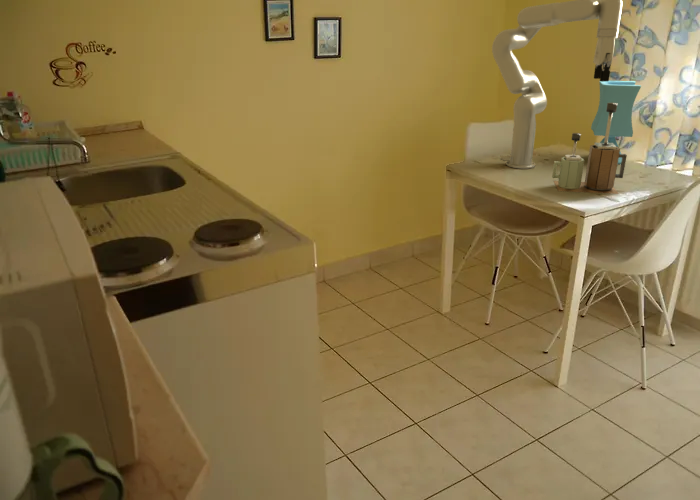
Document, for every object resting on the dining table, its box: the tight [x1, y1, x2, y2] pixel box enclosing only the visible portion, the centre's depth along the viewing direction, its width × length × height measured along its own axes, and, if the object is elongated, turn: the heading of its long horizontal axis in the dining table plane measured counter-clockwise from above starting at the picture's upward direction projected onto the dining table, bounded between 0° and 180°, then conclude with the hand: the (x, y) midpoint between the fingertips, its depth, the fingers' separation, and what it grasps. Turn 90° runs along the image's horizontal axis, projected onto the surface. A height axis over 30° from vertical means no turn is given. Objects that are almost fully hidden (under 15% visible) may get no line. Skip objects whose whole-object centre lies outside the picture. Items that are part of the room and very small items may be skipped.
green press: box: [551, 154, 585, 189], centre depth 225 cm, size 11×8×12 cm
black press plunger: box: [603, 103, 617, 150], centre depth 217 cm, size 6×6×20 cm
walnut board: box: [553, 180, 619, 195], centre depth 227 cm, size 22×14×1 cm, turn 79°
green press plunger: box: [571, 132, 582, 157], centre depth 222 cm, size 5×5×13 cm
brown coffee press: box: [584, 142, 627, 191], centre depth 222 cm, size 13×10×17 cm
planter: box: [590, 80, 642, 165], centre depth 262 cm, size 16×16×35 cm
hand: (600, 79), depth 227 cm, fingers open, 9 cm apart
